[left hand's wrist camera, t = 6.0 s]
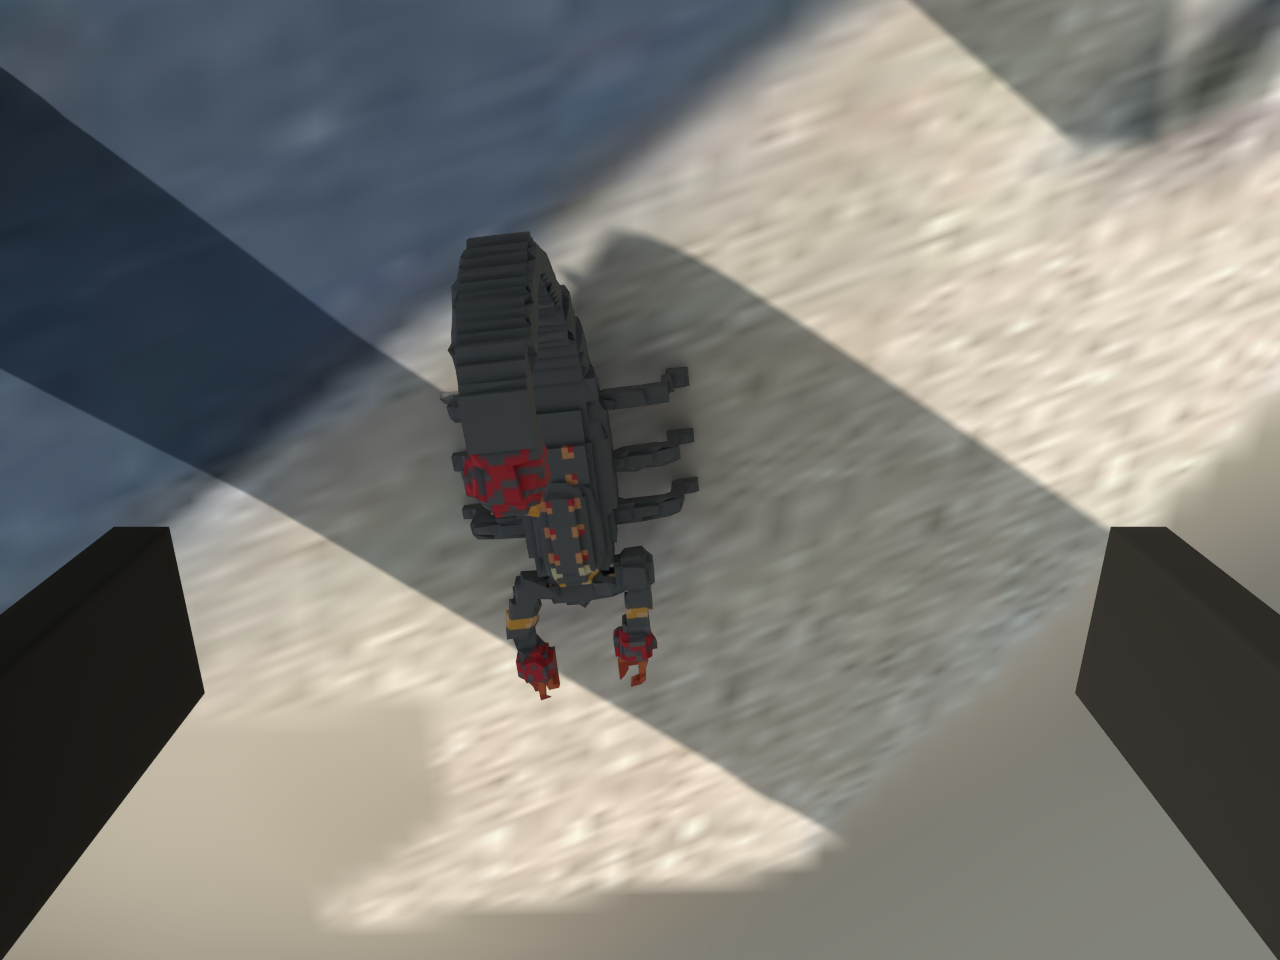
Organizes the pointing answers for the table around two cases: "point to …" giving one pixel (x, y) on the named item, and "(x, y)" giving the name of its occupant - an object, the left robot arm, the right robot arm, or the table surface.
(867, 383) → the table surface
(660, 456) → the toy
